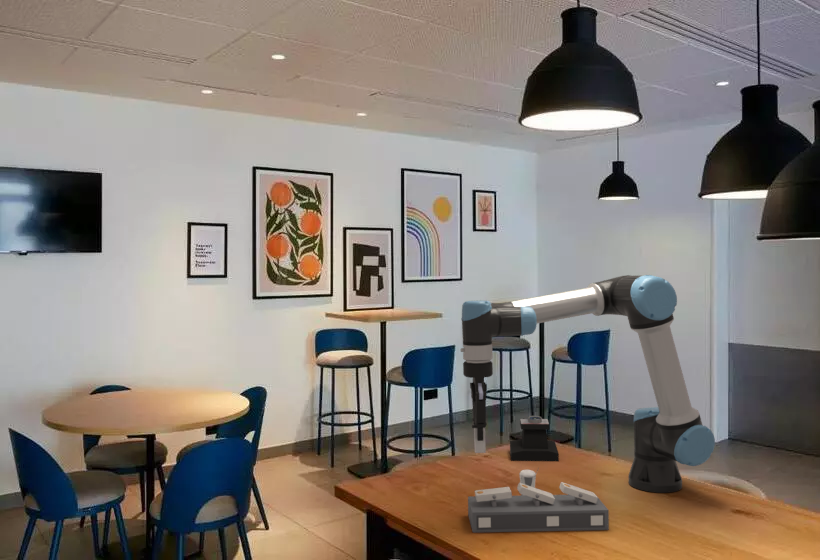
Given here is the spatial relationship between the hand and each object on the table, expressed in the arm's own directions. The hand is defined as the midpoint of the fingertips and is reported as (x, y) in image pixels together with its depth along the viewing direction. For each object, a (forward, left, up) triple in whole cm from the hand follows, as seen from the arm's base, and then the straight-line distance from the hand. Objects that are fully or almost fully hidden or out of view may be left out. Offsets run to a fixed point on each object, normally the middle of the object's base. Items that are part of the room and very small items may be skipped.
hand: (480, 451), depth 177 cm
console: (-14, 0, -19) cm, 23 cm away
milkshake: (-15, -15, -19) cm, 28 cm away
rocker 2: (-25, 0, -11) cm, 28 cm away
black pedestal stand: (-25, -63, -19) cm, 70 cm away
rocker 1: (-3, 0, -11) cm, 11 cm away
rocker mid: (-14, 0, -11) cm, 18 cm away
